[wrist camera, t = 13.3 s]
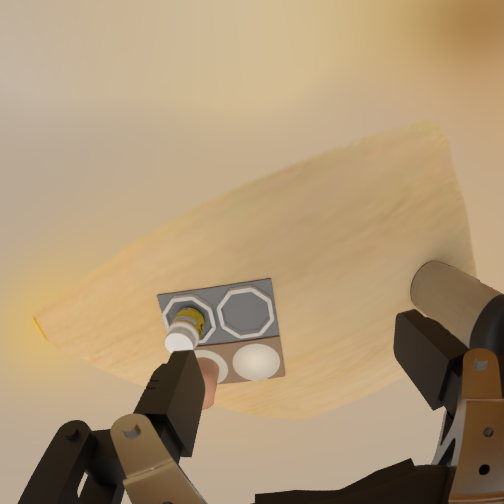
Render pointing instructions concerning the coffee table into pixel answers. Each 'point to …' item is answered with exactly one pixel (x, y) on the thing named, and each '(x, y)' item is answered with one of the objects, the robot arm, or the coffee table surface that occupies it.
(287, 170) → the coffee table surface
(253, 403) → the coffee table surface
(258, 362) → the board
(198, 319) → the supplement bottle
